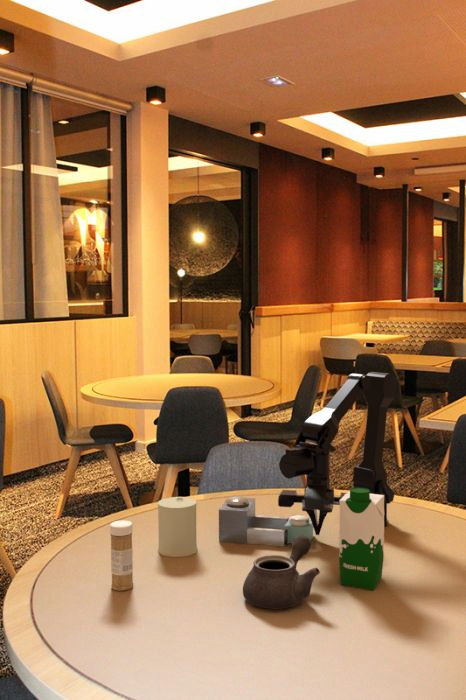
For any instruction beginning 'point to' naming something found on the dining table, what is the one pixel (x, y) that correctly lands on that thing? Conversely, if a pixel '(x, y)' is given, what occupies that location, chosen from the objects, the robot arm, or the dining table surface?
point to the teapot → (280, 578)
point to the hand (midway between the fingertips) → (317, 534)
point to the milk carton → (361, 538)
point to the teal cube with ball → (299, 527)
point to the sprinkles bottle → (121, 555)
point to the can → (177, 526)
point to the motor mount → (250, 524)
